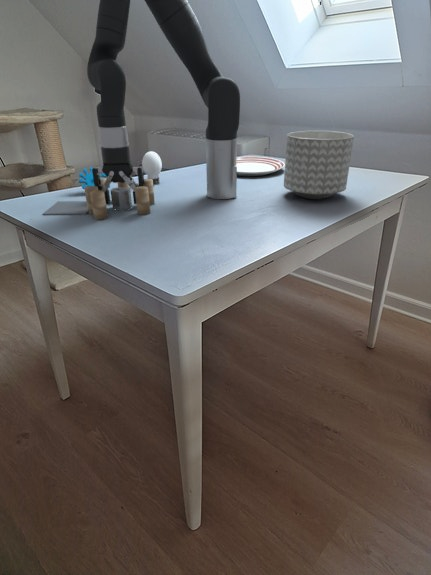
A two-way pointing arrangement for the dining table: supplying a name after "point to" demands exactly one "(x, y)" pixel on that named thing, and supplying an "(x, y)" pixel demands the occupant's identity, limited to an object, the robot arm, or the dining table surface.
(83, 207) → the mat
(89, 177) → the gear
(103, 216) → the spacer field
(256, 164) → the dinner plate
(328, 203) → the dining table surface
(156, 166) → the light bulb
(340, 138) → the planter
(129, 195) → the grey block
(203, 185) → the dining table surface
